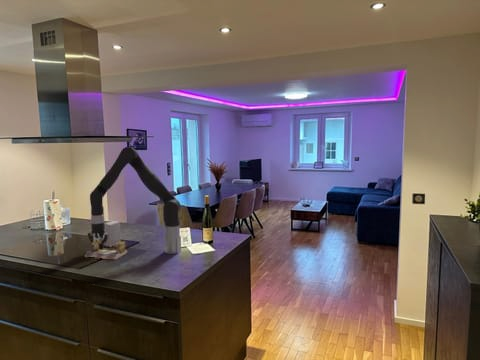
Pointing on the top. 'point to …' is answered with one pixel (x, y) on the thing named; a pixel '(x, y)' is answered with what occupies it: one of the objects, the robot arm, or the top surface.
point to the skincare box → (112, 233)
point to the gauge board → (109, 252)
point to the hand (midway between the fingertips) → (98, 248)
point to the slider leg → (96, 245)
